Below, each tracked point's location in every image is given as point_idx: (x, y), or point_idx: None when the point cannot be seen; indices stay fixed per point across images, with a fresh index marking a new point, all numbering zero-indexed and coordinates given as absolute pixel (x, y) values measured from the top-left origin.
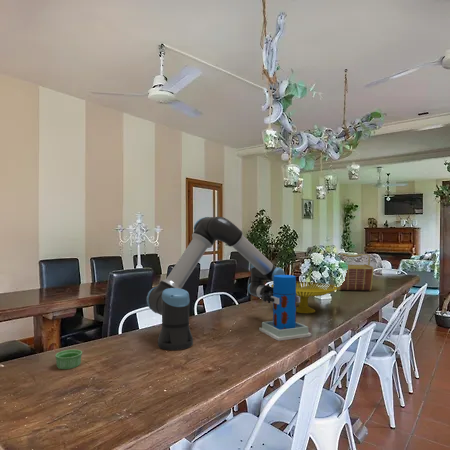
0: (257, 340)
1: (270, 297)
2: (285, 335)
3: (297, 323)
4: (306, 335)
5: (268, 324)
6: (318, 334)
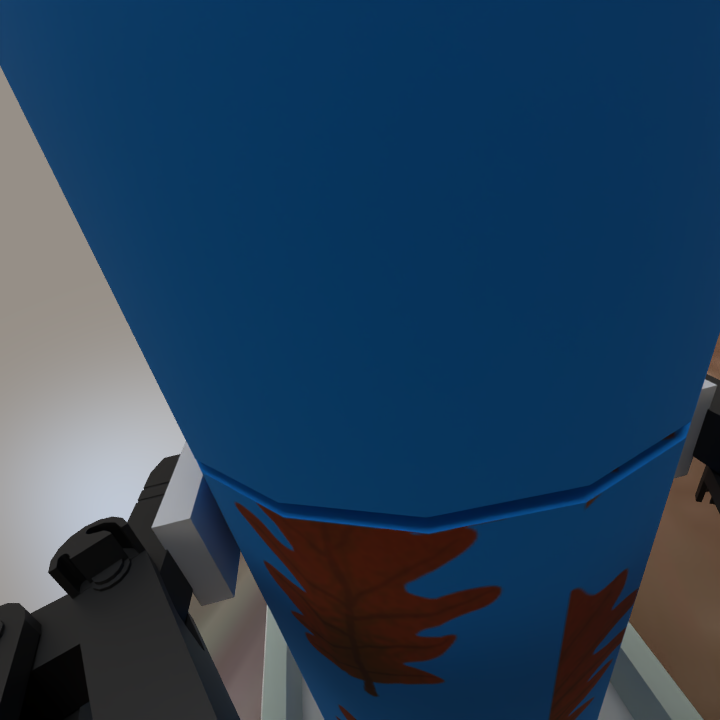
0: (676, 520)
1: (717, 404)
2: None
3: (287, 681)
4: None
5: (651, 678)
6: (197, 609)
